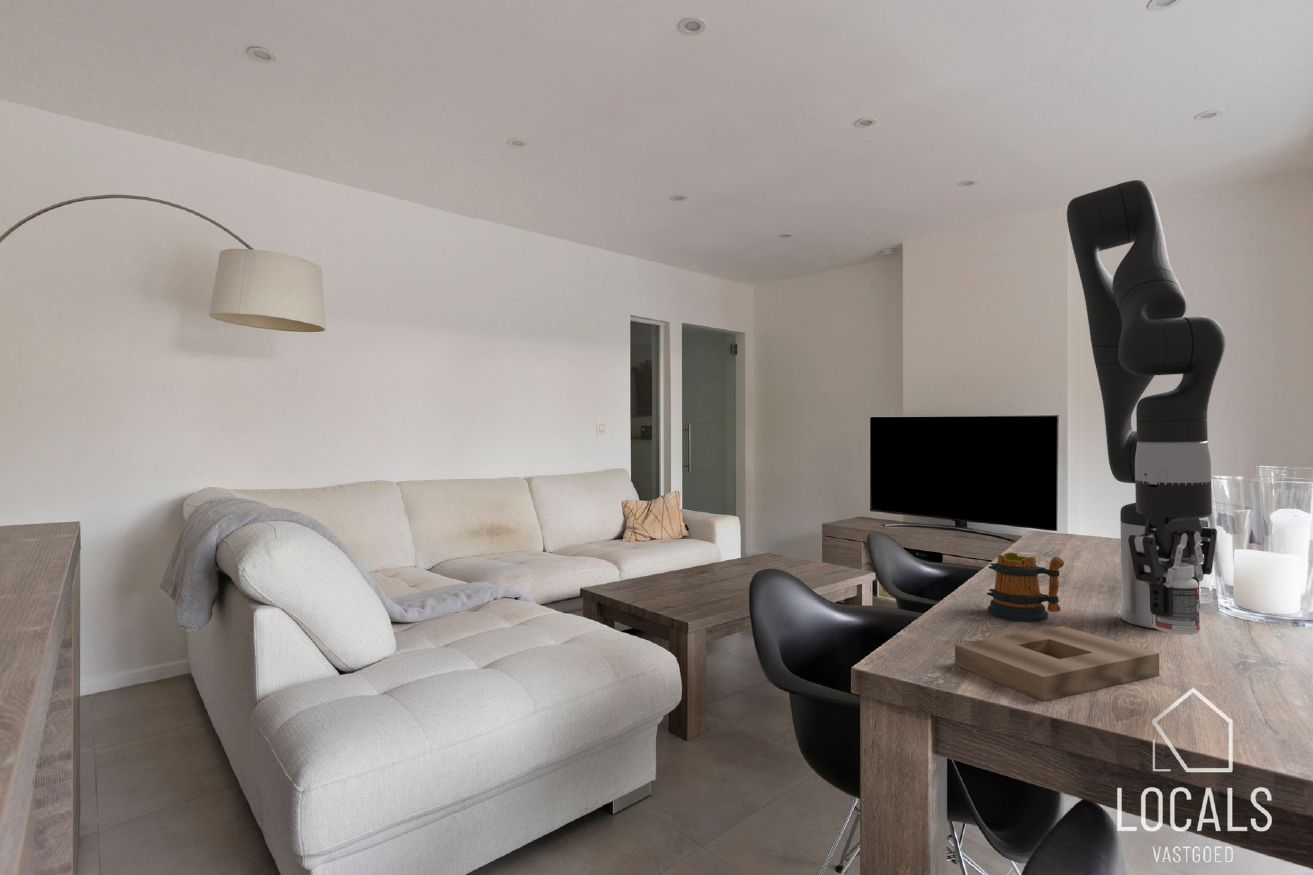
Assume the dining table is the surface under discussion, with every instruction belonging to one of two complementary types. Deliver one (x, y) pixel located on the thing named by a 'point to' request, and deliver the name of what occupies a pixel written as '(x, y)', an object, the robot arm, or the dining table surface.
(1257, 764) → the dining table surface
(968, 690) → the dining table surface
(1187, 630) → the pill bottle
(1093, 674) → the board
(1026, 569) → the mug
